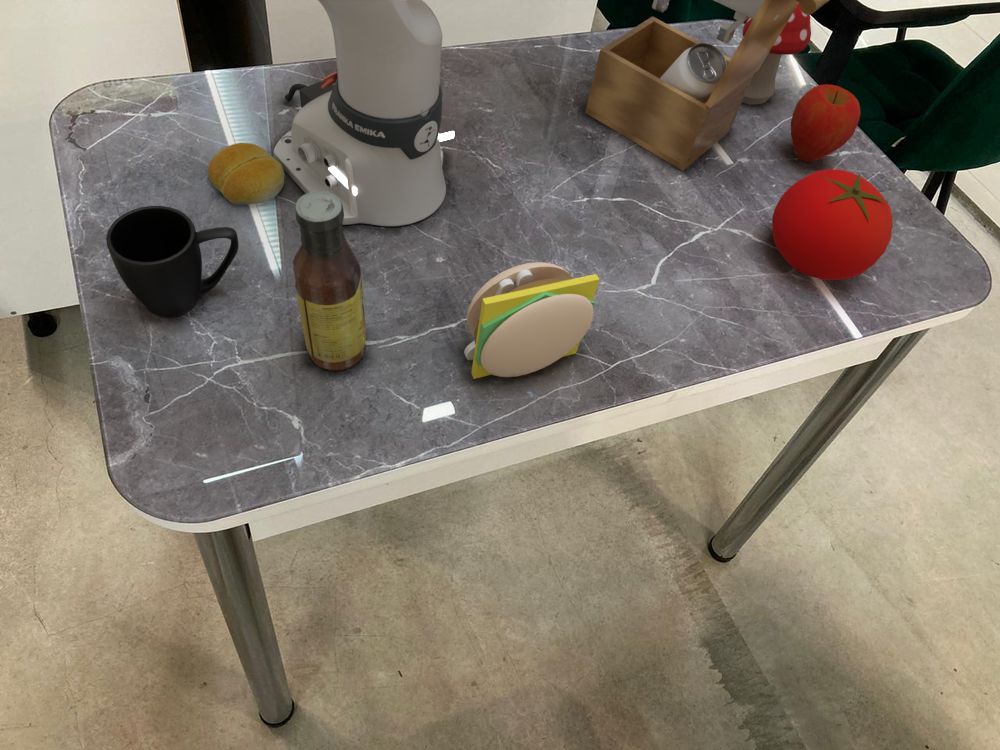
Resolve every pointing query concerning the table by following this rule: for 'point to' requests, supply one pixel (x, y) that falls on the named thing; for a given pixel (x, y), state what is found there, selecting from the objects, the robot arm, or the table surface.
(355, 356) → the sauce bottle
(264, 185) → the bread roll
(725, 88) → the lid
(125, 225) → the mug
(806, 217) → the tomato
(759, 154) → the table surface
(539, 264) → the hamburger
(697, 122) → the box
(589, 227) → the table surface
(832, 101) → the apple
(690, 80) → the can
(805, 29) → the decorative mushroom
